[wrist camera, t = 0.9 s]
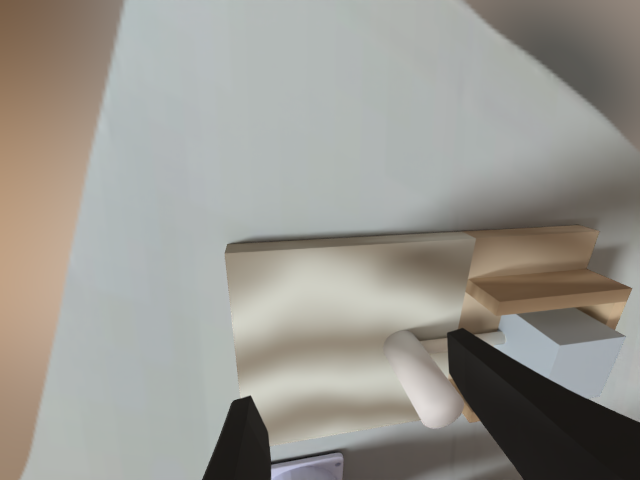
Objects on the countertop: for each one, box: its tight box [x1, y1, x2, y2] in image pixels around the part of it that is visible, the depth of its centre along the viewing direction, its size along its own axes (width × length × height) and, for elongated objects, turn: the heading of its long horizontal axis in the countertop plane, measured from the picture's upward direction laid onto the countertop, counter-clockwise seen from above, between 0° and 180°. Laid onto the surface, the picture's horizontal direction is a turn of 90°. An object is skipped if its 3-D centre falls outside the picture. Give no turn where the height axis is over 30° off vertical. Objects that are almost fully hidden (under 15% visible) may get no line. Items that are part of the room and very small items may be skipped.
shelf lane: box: [225, 225, 632, 446], centre depth 21 cm, size 16×26×4 cm, turn 89°
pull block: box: [383, 307, 626, 428], centre depth 20 cm, size 5×14×6 cm, turn 89°
